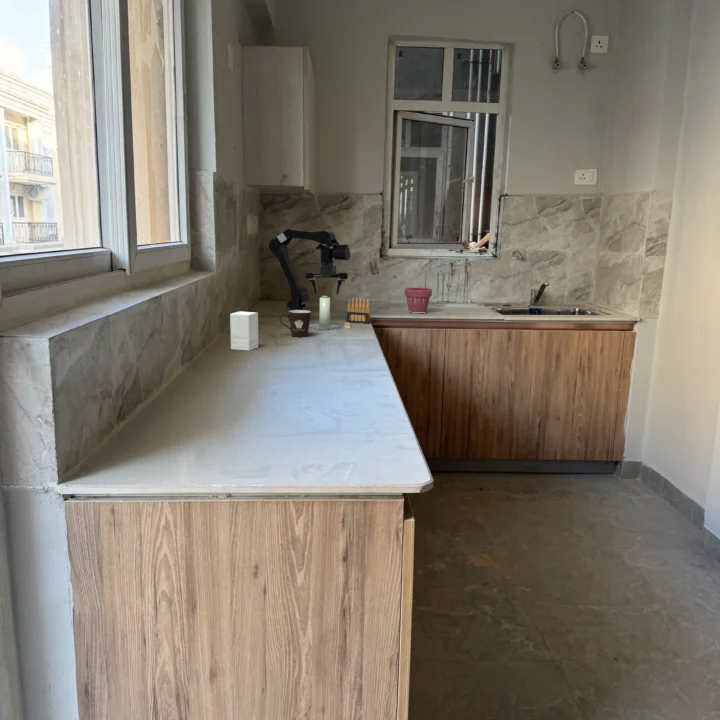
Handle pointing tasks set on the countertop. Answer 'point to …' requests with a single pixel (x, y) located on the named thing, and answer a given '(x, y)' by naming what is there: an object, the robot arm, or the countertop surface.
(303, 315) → the coffee mug
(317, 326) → the slate trivet
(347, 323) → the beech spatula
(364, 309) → the ammunition clip
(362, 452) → the countertop surface
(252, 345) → the supplement box
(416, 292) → the plant pot
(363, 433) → the countertop surface
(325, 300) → the stoneware bottle
